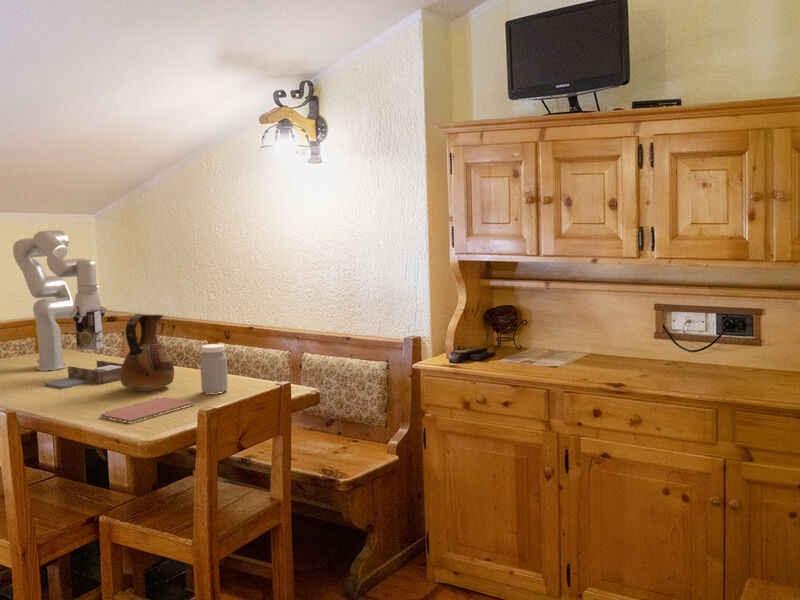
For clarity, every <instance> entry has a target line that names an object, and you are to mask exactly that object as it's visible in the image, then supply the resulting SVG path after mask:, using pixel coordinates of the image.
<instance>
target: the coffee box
mask: <svg viewBox="0 0 800 600" xmlns="http://www.w3.org/2000/svg"><path fill="white" fill-rule="evenodd" d="M78 314H79V315H80V313H79V312H77V313H76V317H77V315H78ZM79 318H80V317H79ZM81 322H82V325H83V332H77V329H76V322H75V321H74V324H75V337H76V338H75V339H76V340H75V341H76V350H98V349H102V348H104V334H103V332H104V331H103V319H102V310H95V311H91V312H87V314H86V317H83V319H82V321H81Z"/></svg>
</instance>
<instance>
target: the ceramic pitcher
mask: <svg viewBox="0 0 800 600" xmlns="http://www.w3.org/2000/svg"><path fill="white" fill-rule="evenodd" d="M163 317H164V314H141V313H137V314H136V313H135V314H134V315H133V316H132V317H130V318H129V320H128V321H127V322H126V325H125V338H126V341H127V344H128V347H129V352H128V353H127V355H126V356H125V359H124V361H123V362H122V364H123V365H122V368H121V380H120V383H121V385H122V386H123V387H125V388H129V389H132V390H135V391H148V392H149V391H153V392H154V391H157V390H160V389H161V388H164V387H166V386H169V385H171V384H172V383H173V381H174V377H175V367H174V362H173V359H172V357H171V355H170V354H169V352H168V350H167V349H166V347H164V346H163V345H162V344H161V343H160V342H159V341H158V336H157V329H158V323H159V321H160V320H161V319H162V318H163ZM138 322H139V325H140V330H141V331H140V339H139V341H138V339H137V333H136V332H137V331H136V330H137V324H138ZM159 388H160V389H159Z"/></svg>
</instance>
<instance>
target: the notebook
mask: <svg viewBox="0 0 800 600" xmlns="http://www.w3.org/2000/svg"><path fill="white" fill-rule="evenodd" d="M191 404H193V405H194V404H195V402H194V401H189V400H184V399H178V398H171V397H167V396H163V397H156V398H153V399H149V400H145V401H142V402H137V403H133V404H129V405H125V406H123V407H122V406H121V407H118V408H115V409H112V410H107V411H105V412H102V413H99V415H100V418H101V417H105V418H104V419H106V418H112V419H116V420H121V421H126V422H134V421H137V420H140V419H144V418H148V417H151V416H154V415H158V414H160V413H164V412H167V411H170V410H174V409H177V408H181V407H184V406H188V405H191Z"/></svg>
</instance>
